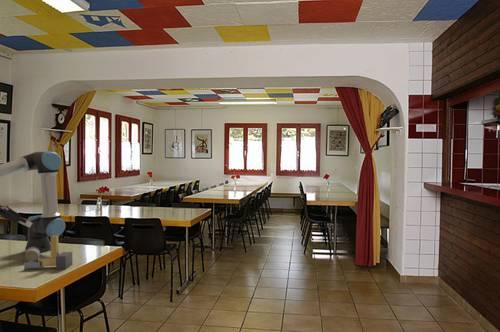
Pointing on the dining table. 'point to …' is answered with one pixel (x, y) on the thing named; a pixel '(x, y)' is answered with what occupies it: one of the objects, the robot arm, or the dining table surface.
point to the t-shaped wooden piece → (54, 252)
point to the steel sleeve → (33, 265)
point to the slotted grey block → (63, 260)
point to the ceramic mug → (32, 253)
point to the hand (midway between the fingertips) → (31, 225)
